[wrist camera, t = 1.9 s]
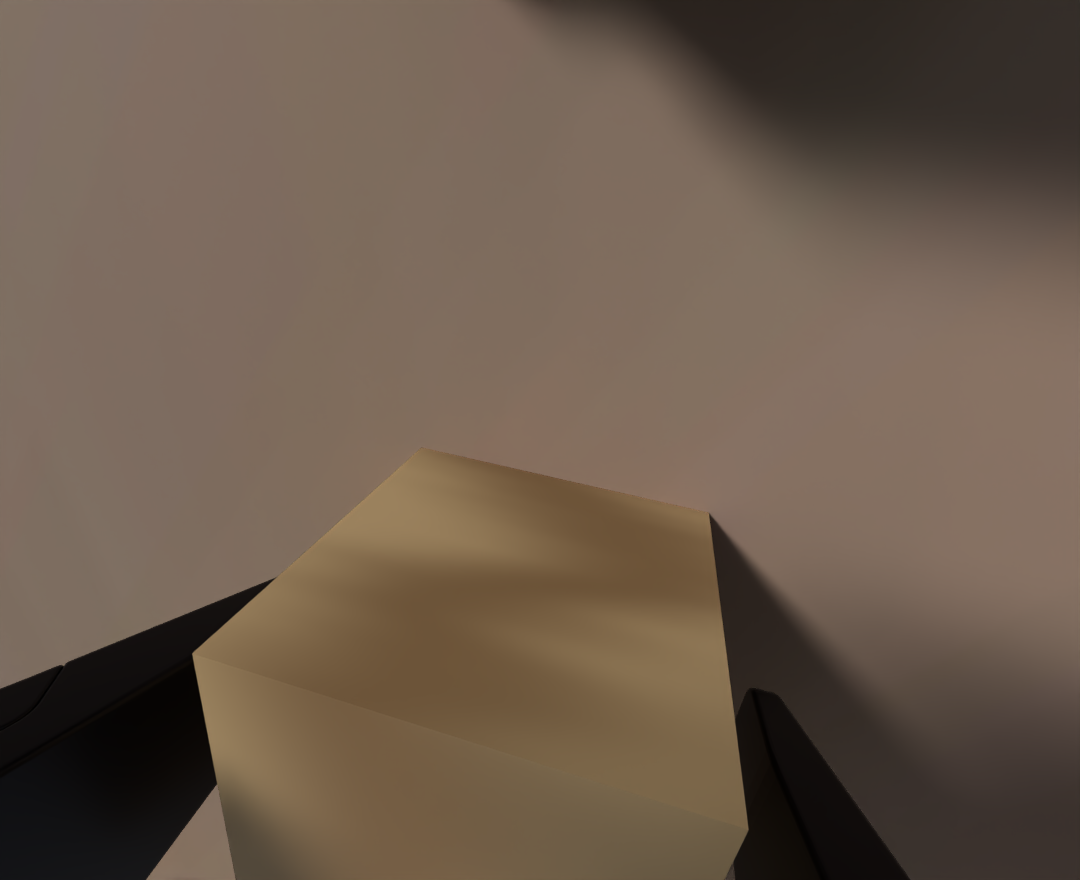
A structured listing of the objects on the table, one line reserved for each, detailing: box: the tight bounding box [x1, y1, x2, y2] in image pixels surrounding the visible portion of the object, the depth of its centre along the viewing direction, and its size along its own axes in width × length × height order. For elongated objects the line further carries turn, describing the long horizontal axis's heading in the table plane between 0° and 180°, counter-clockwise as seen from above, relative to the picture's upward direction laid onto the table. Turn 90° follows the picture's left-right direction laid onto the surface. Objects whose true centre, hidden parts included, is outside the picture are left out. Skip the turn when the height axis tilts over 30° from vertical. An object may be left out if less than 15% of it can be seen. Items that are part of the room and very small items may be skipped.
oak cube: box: [192, 448, 749, 880], centre depth 8 cm, size 5×5×5 cm
